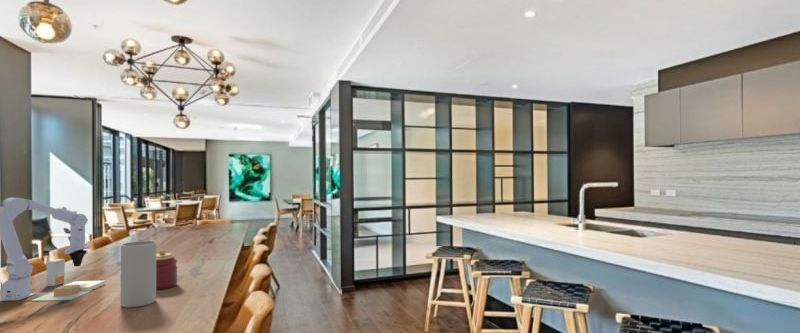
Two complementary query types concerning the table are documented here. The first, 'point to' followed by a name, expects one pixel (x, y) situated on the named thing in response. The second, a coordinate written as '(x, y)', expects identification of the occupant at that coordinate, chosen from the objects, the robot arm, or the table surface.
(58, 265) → the skincare box
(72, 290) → the brick
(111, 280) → the table surface
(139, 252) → the cylinder vase
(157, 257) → the canister
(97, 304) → the table surface
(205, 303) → the table surface
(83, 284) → the board
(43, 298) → the mat
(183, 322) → the table surface
